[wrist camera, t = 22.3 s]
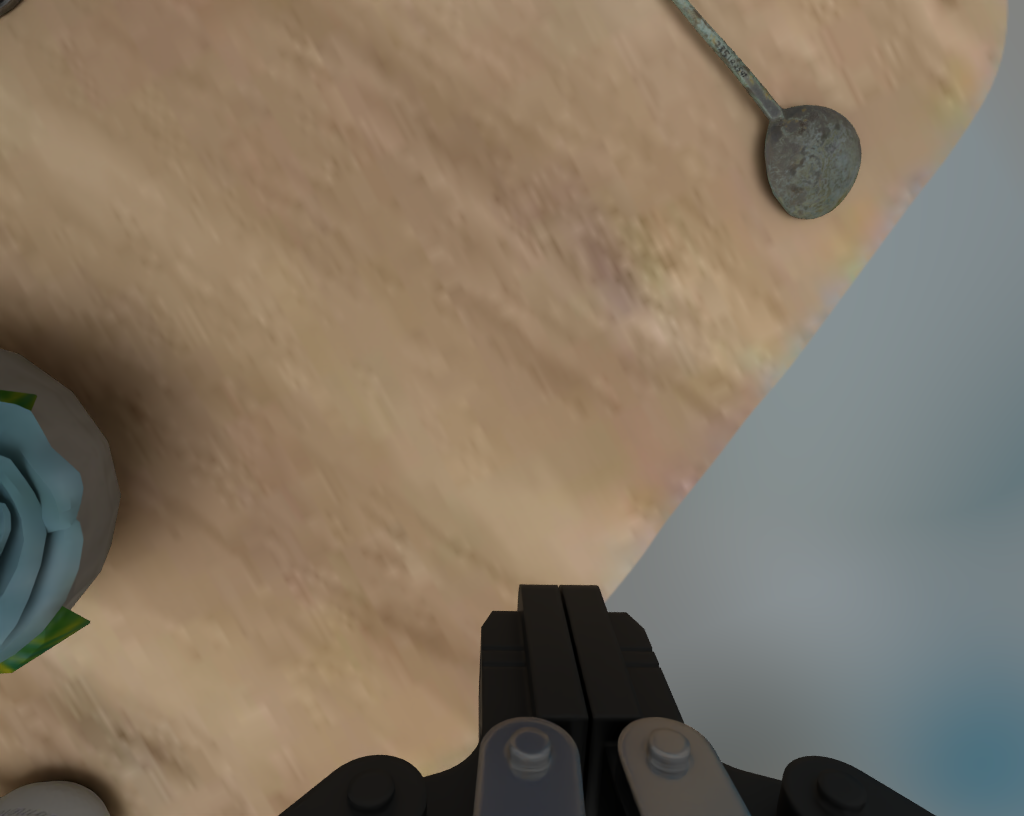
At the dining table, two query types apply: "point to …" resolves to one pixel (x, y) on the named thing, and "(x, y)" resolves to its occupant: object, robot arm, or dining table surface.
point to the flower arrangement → (48, 509)
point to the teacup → (52, 800)
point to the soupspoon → (795, 139)
